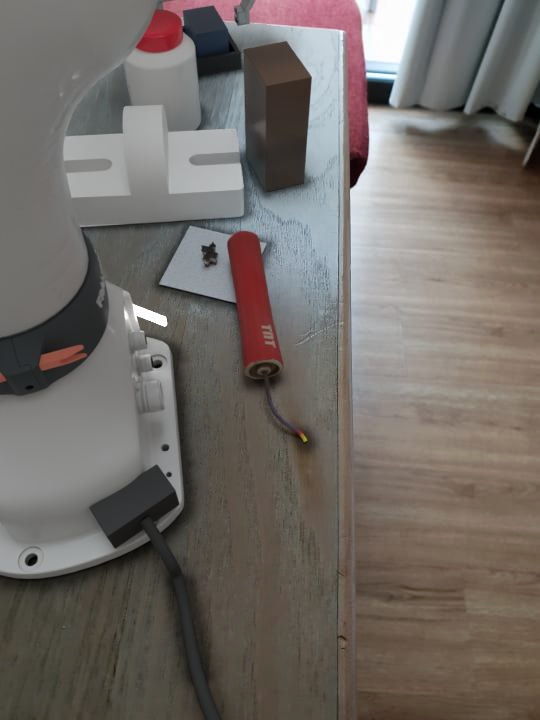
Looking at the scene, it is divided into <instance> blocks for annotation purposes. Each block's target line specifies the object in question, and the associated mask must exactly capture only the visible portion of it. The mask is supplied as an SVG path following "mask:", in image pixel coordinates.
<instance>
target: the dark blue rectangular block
mask: <svg viewBox="0 0 540 720" xmlns="http://www.w3.org/2000/svg"><path fill="white" fill-rule="evenodd" d="M182 17H183V26H184V29H185V34H186V35H188V36H189V37H190V38H191V39H192V40H193V42H194V45H195V49H196V58H202V57H207V56H213V55H218V54H224V53H229V38H228V32H229V28H228V27H227V25H226V24H225V22H224V20H223V18H222V17H221V16H220V14H219V12H218V11H217V9H216V7H215V6H214V5H207V6H201V7H194V8H190V9H183V10H182Z"/></svg>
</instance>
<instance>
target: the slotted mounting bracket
mask: <svg viewBox="0 0 540 720" xmlns="http://www.w3.org/2000/svg"><path fill="white" fill-rule="evenodd" d="M239 146H240V145H239V138H238V131H237V130H236V129H235V128H219V129H216V128H215V129H199V130H197V129H196V130H195V131H177V132H168V127H167V120H166V114H165V109H164V106H163V105H144V106H131V105H124V107H123V111H122V133H105V134H104V133H103V134H102V133H101V134H86V135H67V136H66V135H65V139H64V149H63V156H64V165H65V171H66V175H67V180H68V184H69V189H70V193H71V197H72V201H73V205H74V208H75V212H76V215H77V219H78V222H79V225H80V228H86V227H87V228H88V227H104V226H117V225H133V224H134V225H135V224H153V223H165V222H166V223H168V222H179V221H180V222H181V221H195V220H197V221H198V220H213V219H228V218H229V219H230V218H241V217H243V216H244V215H245V188H244V187H245V186H244V178H243V177H244V176H243V169H242V163H241V160H240V147H239Z"/></svg>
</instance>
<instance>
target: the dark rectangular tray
mask: <svg viewBox="0 0 540 720" xmlns="http://www.w3.org/2000/svg"><path fill="white" fill-rule="evenodd" d="M182 28H183V32H184V33H185V29H184V25H182ZM228 38H229V53H224V54H218V55H213V56H207V57H202V58H196V61H197V72H198V78H201V77H207V76H212V75H217V74H222V73H227V72H228V73H229V72H232V71H237V70H242V52H241V50H240V49H239V47H238V44H236V42H235V40H234V39H233V36H231V34H230V32H229V31H228Z"/></svg>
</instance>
